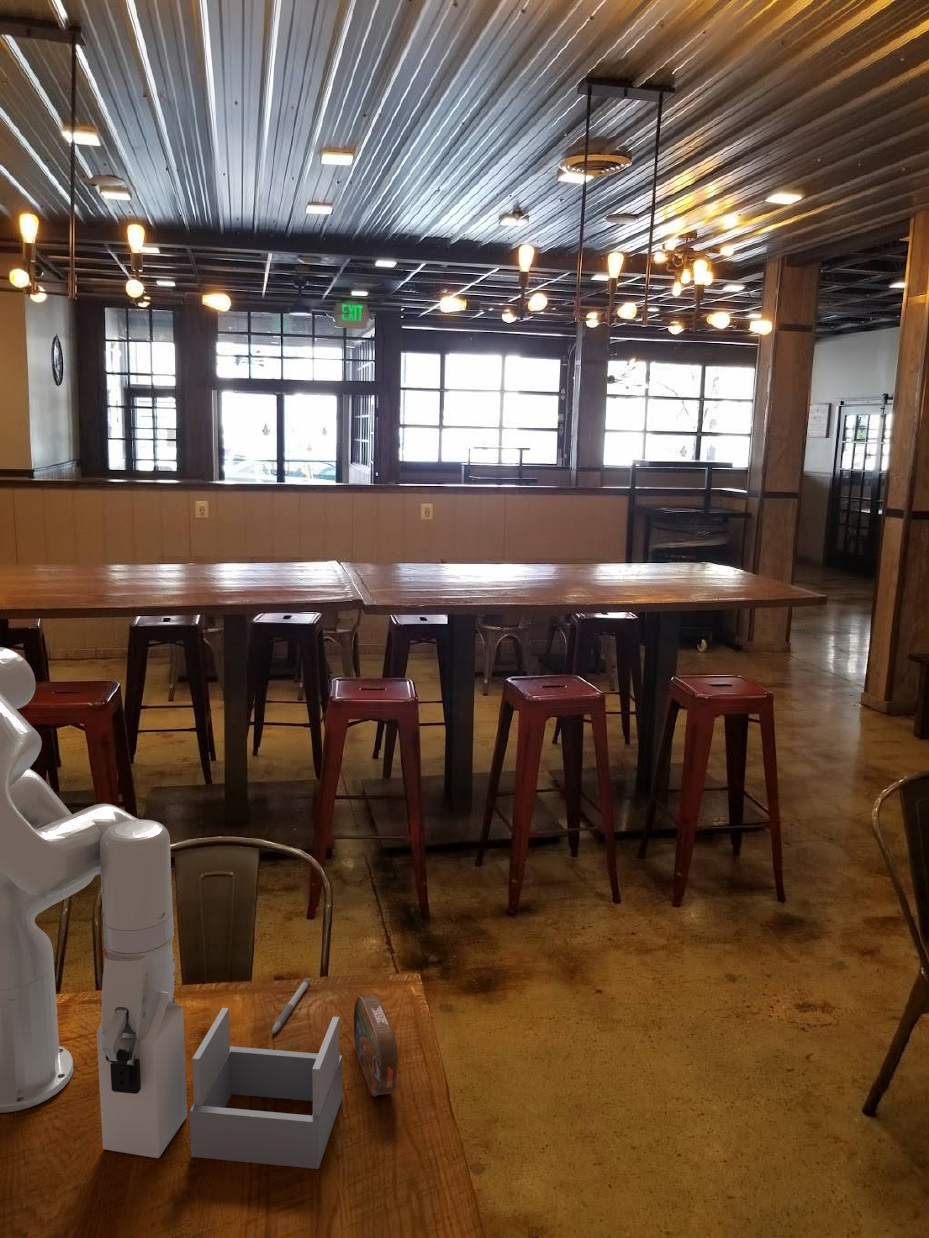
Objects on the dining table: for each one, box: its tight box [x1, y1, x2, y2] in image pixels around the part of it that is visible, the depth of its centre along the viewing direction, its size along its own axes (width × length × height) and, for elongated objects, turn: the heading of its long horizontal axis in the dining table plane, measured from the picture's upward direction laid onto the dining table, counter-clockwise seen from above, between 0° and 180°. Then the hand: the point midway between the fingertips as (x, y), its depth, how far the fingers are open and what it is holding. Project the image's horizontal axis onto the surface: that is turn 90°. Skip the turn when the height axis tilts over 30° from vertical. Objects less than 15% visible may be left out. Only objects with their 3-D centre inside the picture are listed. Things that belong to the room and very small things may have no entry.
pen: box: [271, 977, 311, 1034], centre depth 140 cm, size 1×14×1 cm, turn 168°
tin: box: [353, 995, 399, 1097], centre depth 126 cm, size 15×3×8 cm, turn 18°
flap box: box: [189, 1007, 343, 1170], centre depth 115 cm, size 15×12×12 cm
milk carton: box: [96, 991, 188, 1159], centre depth 113 cm, size 7×7×19 cm
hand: (144, 1063), depth 113 cm, fingers open, 9 cm apart
